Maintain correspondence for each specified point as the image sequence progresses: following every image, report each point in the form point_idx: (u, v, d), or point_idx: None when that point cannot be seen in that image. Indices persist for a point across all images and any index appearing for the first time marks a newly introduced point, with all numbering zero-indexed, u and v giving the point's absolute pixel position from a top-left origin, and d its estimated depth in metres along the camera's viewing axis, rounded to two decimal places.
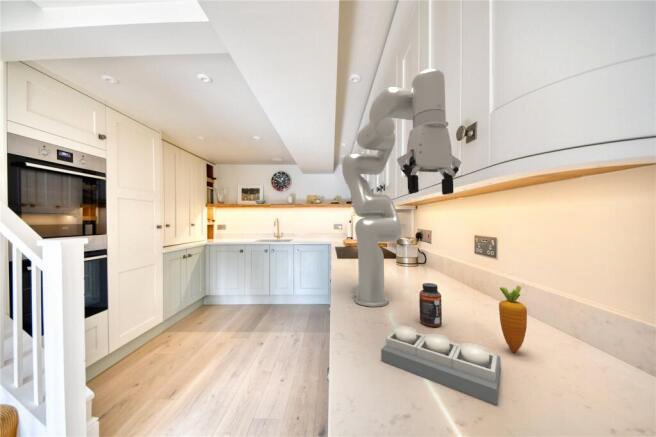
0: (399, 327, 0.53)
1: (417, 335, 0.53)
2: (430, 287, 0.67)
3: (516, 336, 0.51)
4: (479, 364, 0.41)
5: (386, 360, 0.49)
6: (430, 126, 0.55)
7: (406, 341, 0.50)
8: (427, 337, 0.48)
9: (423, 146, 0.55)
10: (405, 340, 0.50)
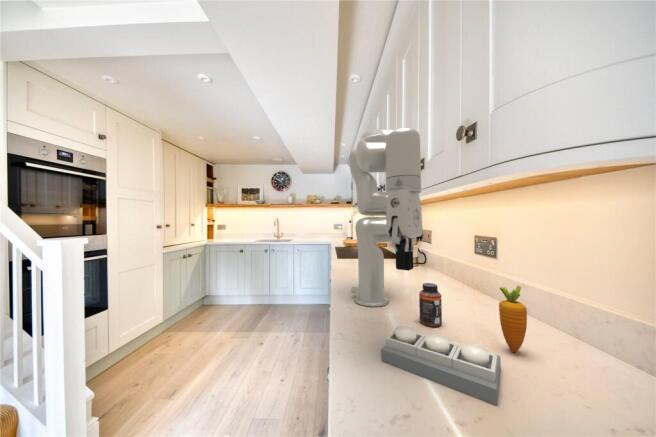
0: (399, 327, 0.53)
1: (417, 335, 0.53)
2: (430, 287, 0.67)
3: (516, 336, 0.51)
4: (479, 364, 0.41)
5: (386, 360, 0.49)
6: None
7: (406, 341, 0.50)
8: (427, 337, 0.48)
9: None
10: (405, 340, 0.50)
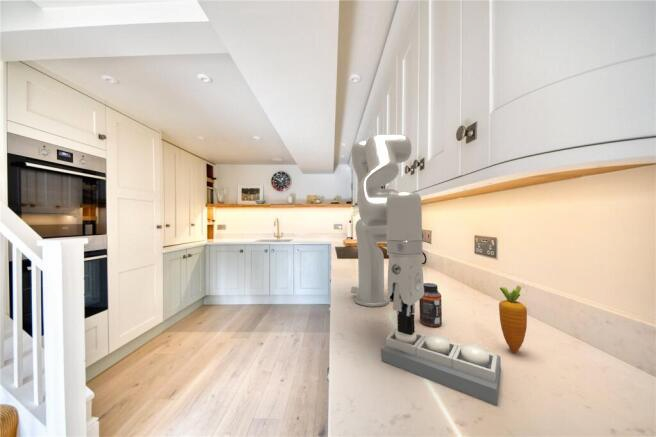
0: None
1: (417, 335, 0.53)
2: (430, 287, 0.67)
3: (516, 336, 0.51)
4: (479, 364, 0.41)
5: (386, 360, 0.49)
6: None
7: None
8: (427, 337, 0.48)
9: None
10: (405, 342, 0.50)
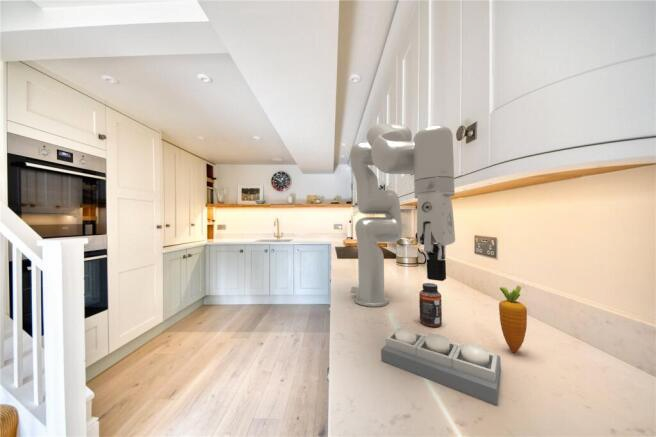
0: (399, 331, 0.53)
1: (417, 335, 0.53)
2: (430, 287, 0.67)
3: (516, 336, 0.51)
4: (479, 364, 0.41)
5: (386, 360, 0.49)
6: None
7: None
8: (427, 337, 0.48)
9: None
10: None
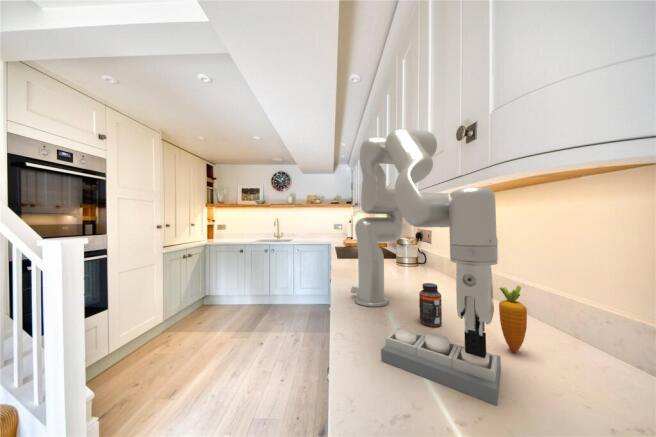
0: (399, 331, 0.53)
1: (417, 335, 0.53)
2: (430, 287, 0.67)
3: (516, 336, 0.51)
4: None
5: (386, 360, 0.49)
6: None
7: None
8: (427, 337, 0.48)
9: None
10: None
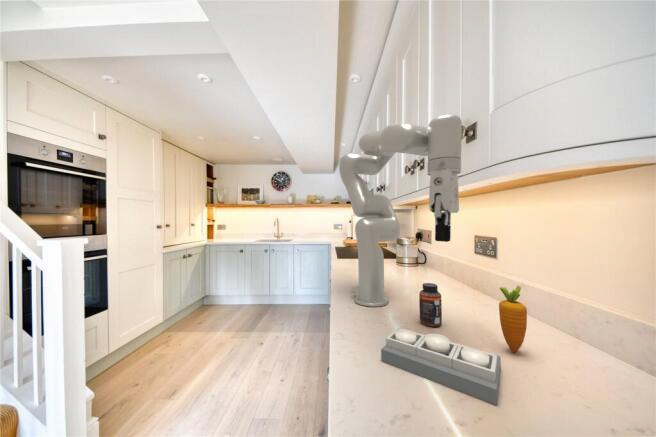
0: (399, 331, 0.53)
1: (417, 335, 0.53)
2: (430, 287, 0.67)
3: (516, 336, 0.51)
4: None
5: (386, 360, 0.49)
6: None
7: None
8: (427, 337, 0.48)
9: None
10: None
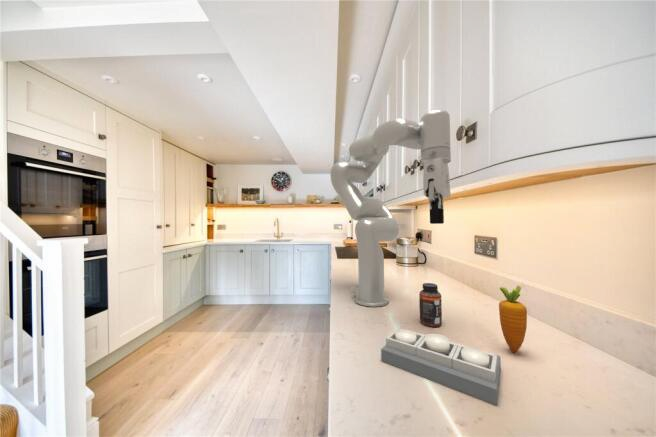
0: (399, 331, 0.53)
1: (417, 335, 0.53)
2: (430, 287, 0.67)
3: (516, 336, 0.51)
4: None
5: (386, 360, 0.49)
6: None
7: None
8: (427, 337, 0.48)
9: None
10: None
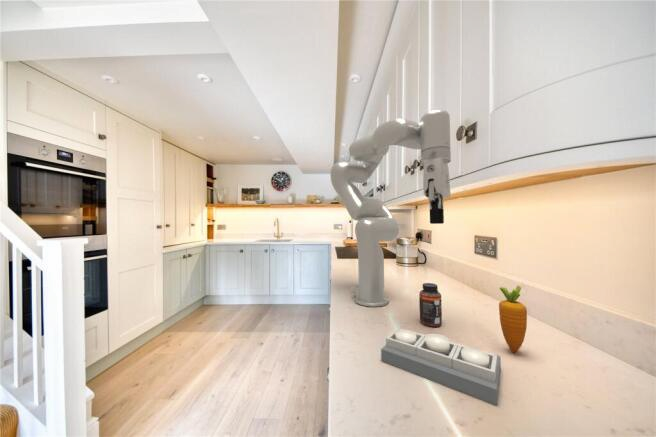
0: (399, 331, 0.53)
1: (417, 335, 0.53)
2: (430, 287, 0.67)
3: (516, 336, 0.51)
4: None
5: (386, 360, 0.49)
6: None
7: None
8: (427, 337, 0.48)
9: None
10: None
